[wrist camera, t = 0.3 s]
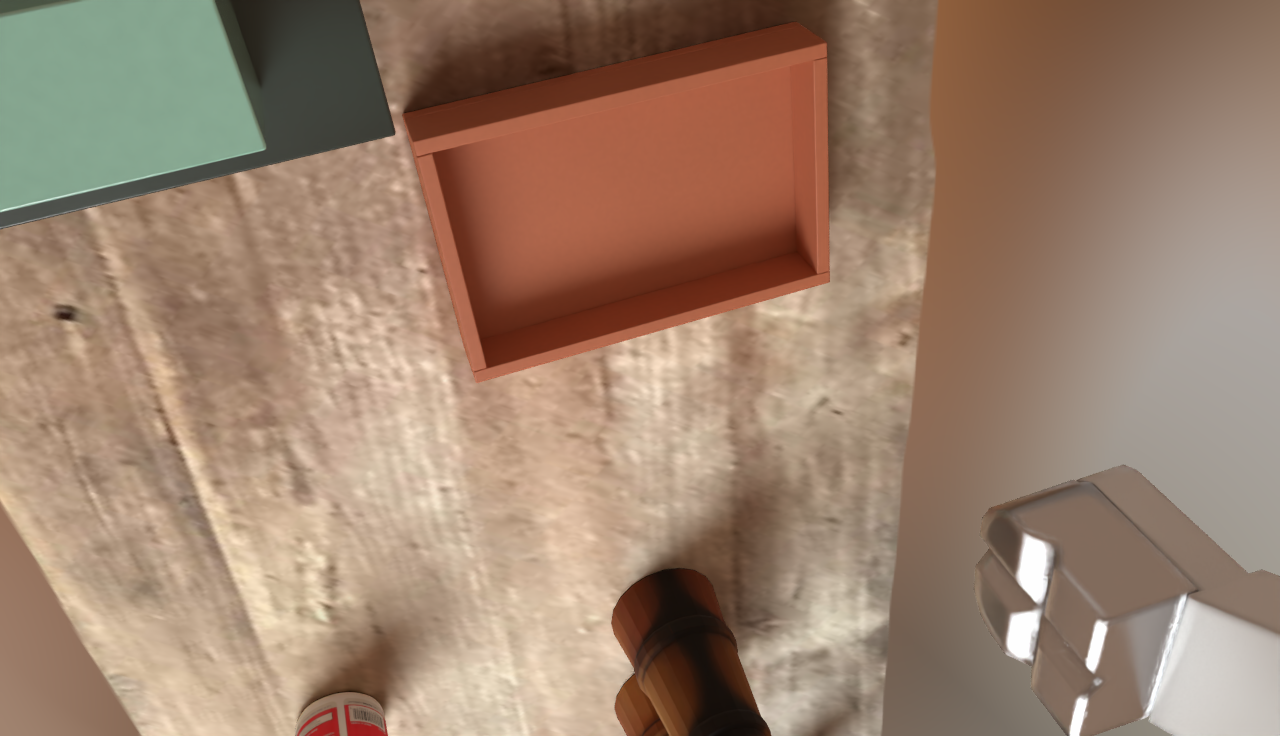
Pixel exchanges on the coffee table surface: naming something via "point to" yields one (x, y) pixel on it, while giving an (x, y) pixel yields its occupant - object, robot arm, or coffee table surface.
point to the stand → (280, 96)
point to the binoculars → (681, 662)
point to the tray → (629, 195)
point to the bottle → (119, 93)
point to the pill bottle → (343, 717)
